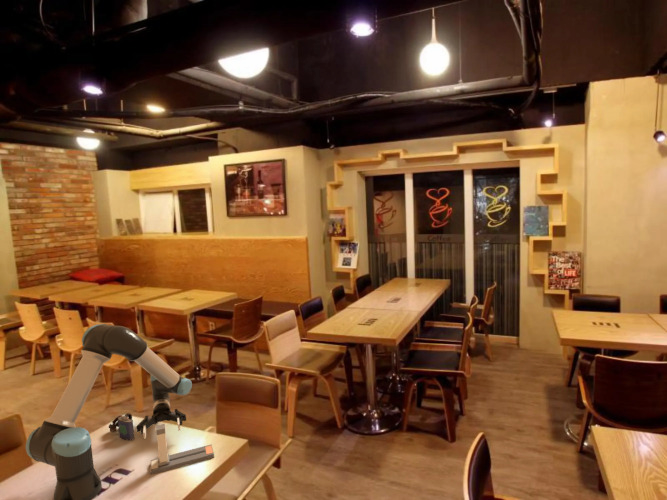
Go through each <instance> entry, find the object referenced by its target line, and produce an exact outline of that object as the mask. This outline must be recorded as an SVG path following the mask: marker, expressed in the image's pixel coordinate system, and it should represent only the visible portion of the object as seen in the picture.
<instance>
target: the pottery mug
mask: <svg viewBox="0 0 667 500" xmlns="http://www.w3.org/2000/svg"><path fill="white" fill-rule="evenodd" d="M122 416H127V417H126V419H131V420H133V415H132V414H131V413H130V412H128V413H126V414H124V415H122V414H120V415H118V416H117V417H115V418H114V419H113V420H112V421H111V423H109V425H108V429H109V432H110V433H112V432H117V428H119V425H118V418H119V417H122ZM133 429H134V426H133Z"/></svg>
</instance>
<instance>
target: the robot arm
mask: <svg viewBox="0 0 667 500" xmlns="http://www.w3.org/2000/svg"><path fill="white" fill-rule="evenodd" d="M81 342H82V343H81V344H82V349H81V350H80V353H81V355H82V357H81V359H80V361H79V363H78V365H77V366H76V368H75V370H74V373H73V374H72V376H71V378H70V380H69V381H68V384H67V385H66V387H65V389H64V391H63V393H62V394H61V397H60V398H59V401H58V403H57V404H56V407H55V409H54V410H53V412H52V414H51V416H50V417H48V418H45V419H44V421H43V422H42V423H41V426H38V427H37V428H36V429H34V430H33V431H31V433H29V435H28V437H27V439H26V443H25V451H26V454H27V456H28V457H30V458H31V459H33V461H35V462H41V463H43V464H46V465H49V466H52V467H54V469H55V476H56V483H55V488H54V493H53V496H52V497H53V498H52V499H53V500H92V499H94V498H95V497H96V496H97V495H99V493H100V492H101V490H102V488H103V487H102V478H101V477H100V476H99V473H98V472H97V471H96V468H95V466H94V457H93V449H92V439H91V436H90V432H89V431H88V429H86V428H84V427H80V426H79V427H78V426H76V424H75V423H76V421H77V418H78V417H79V415H80V412H81V410H82V409H83V407H84V404H85V403H86V400H87V398H88V396H89V394H90V392H91V391H92V389H93V387H94V384H95V382H96V380H97V378H98V377H99V374H100V372H101V370H102V368H103V366H104V364H105V363H107V362H109V361H111V358H112V356H113V355H117V356H121V357H123V358H125V359H127V360H128V361H129V362H135V363H136V364H137V365H139V366H140V367H141V368H142V369H144V370H145V371H146V372H147V373H148V374H150V386H151V394H152V395H151V396H152V404H153V405H152V415H151V416H149V415H145V416H144V418H143V419H142V420H141V421H140V422H139V423H138V424H137V425H136V432H137V433H140V434H141V435H142V436H143V439H144V440H146V438H147V429H149V428H150V427H152V426H153V425H156V424H158V423H160V422H164V421H168V422H170V421H172V422H175V423H177V429H178V431H181V426H182V425H183V422H186V421H187V416H186V414H185V413H183V412H181V411H180V410H178V408H175V409H174V410H173V411H171V397H170V394H174V395H179V396H186V395H188V394H189V393H191V390H192V386H193V383H192V380H191V379H189V378H188V377H183V376H182V375H180V374H179V373H178V372H176V371H175V370H174V369H173V368H172V367H171V366H170V365H169V364H167V362H166V361H164V360H163V359H162V358H161V357H160V356H159V355H158V354H156V353H155V352H154V351H153V350H152V349H151V348H149V347H148V346H149V345H148V343H147V341H146V340H144V338H142V337H141V336H140V335H138V334H137V333H136V332H134V331H133V330H132V329H130V328H129V327H126V326H122V325H113V324H107V323H102V324H100V323H99V324H94V325H92V326H90V327H88V328H87V329H86V331H85V332H84V333H83V335H82V337H81Z"/></svg>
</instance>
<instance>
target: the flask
mask: <svg viewBox="0 0 667 500" xmlns="http://www.w3.org/2000/svg"><path fill="white" fill-rule="evenodd" d="M126 417H127V416H124V415H122V417H119V418H118V425H119V427H118V433H119V438H120V439H121V440H124V441H129V442H130V441H133V440H135V429H134V428H133V427H134V423H133V422H134V421H133V419H132V420H131V419H126Z"/></svg>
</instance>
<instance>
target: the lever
mask: <svg viewBox="0 0 667 500" xmlns="http://www.w3.org/2000/svg"><path fill="white" fill-rule="evenodd" d="M155 431H156V432H155V433H156V439H157V441H156V442H157V449H158V458H159V466H162V465H166V464H170V462H169V455H170V454H168V446H167V434H166V424H165V423H161V424H157V425H155Z"/></svg>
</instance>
